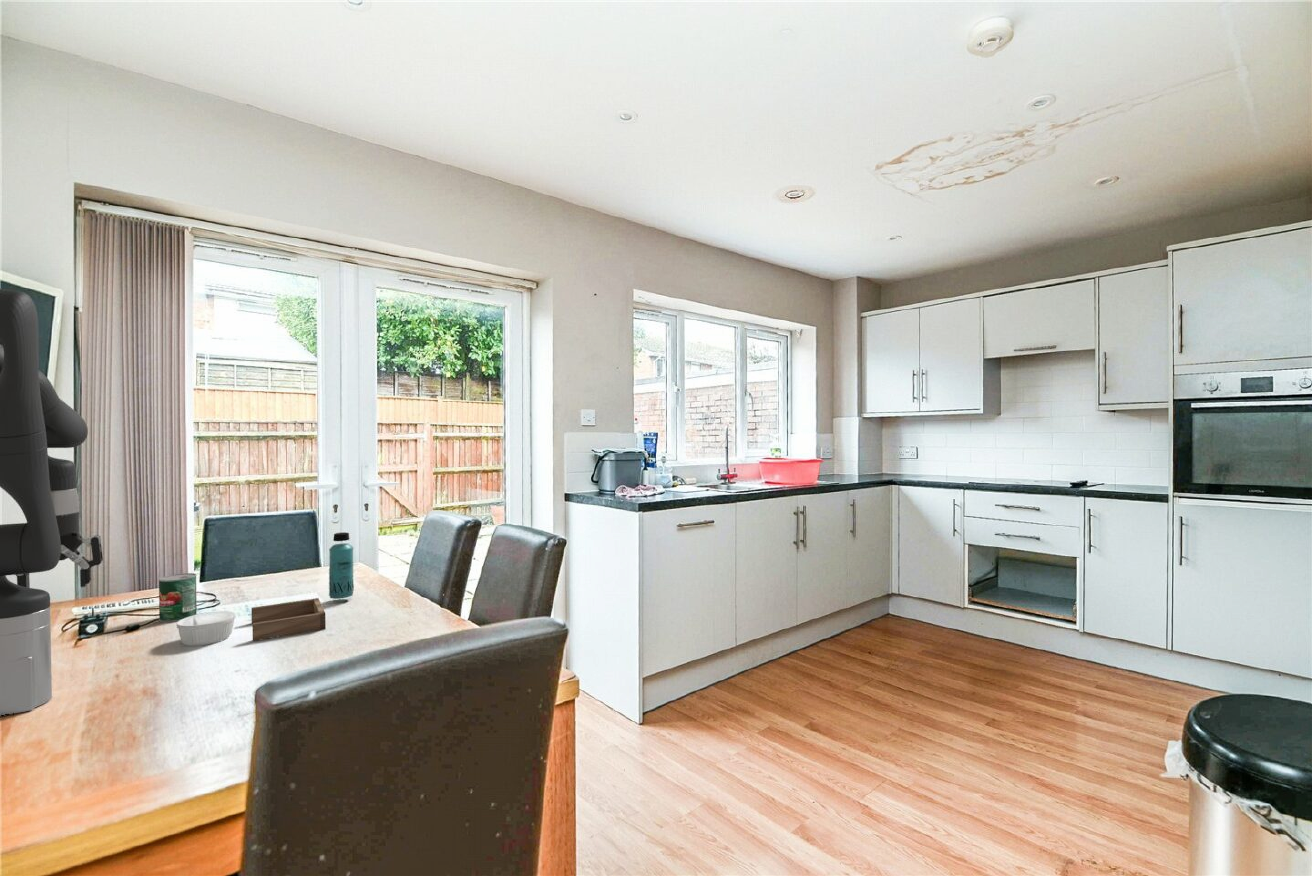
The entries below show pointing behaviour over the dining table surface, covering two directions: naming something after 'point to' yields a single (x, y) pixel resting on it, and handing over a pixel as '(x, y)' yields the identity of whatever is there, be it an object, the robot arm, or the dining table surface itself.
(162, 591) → the canned tomato
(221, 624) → the ramekin
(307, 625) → the walnut bay
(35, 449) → the robot arm
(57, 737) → the dining table surface
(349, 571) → the beverage bottle
